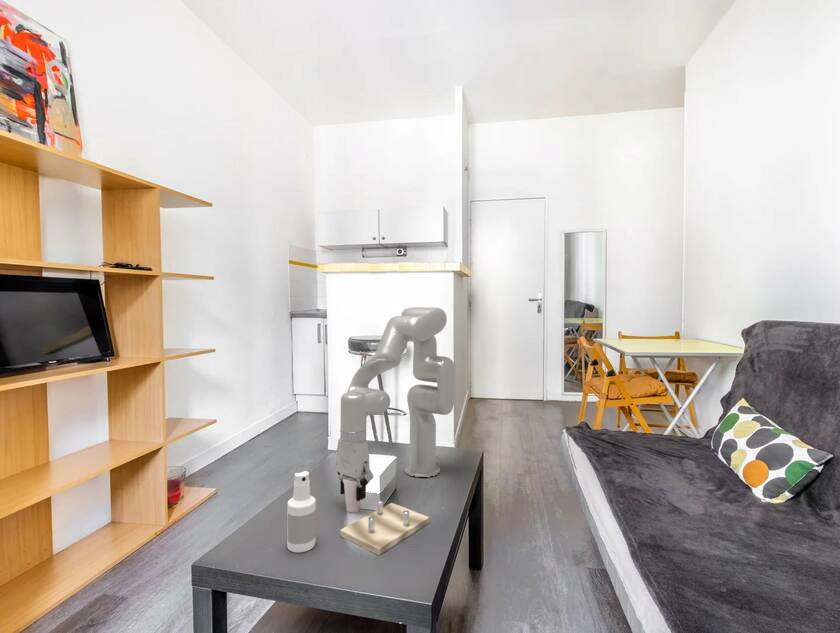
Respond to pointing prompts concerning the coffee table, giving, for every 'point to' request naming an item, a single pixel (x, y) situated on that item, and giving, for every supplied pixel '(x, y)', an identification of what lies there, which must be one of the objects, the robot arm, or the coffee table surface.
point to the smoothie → (351, 493)
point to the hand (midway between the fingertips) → (352, 495)
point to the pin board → (384, 527)
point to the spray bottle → (301, 516)
